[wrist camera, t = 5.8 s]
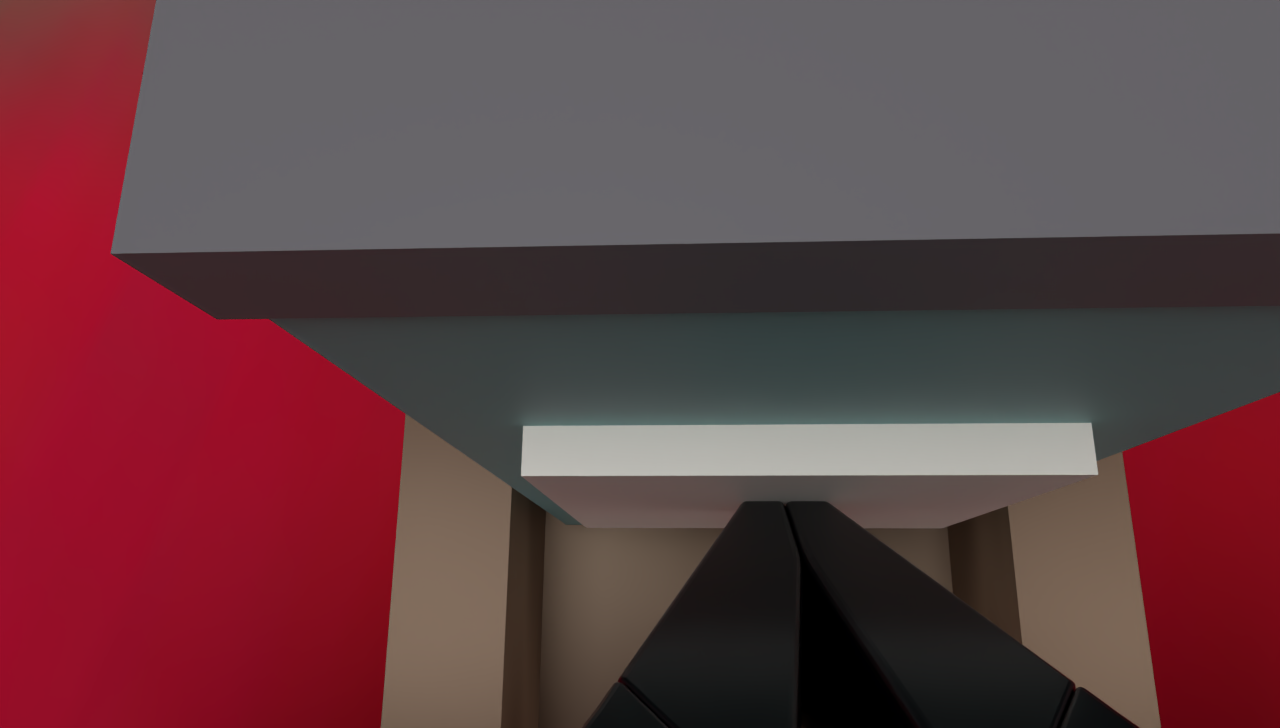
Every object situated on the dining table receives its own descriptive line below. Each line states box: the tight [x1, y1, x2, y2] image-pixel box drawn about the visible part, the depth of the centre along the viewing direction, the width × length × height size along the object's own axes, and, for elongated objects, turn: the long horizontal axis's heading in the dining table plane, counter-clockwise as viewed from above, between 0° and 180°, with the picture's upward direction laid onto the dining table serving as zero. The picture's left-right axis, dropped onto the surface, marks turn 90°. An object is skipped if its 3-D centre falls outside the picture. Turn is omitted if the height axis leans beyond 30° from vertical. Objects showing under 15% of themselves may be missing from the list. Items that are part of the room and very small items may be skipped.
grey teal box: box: [111, 0, 1280, 528], centre depth 10 cm, size 6×6×12 cm
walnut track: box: [381, 414, 1161, 728], centre depth 15 cm, size 13×11×4 cm
